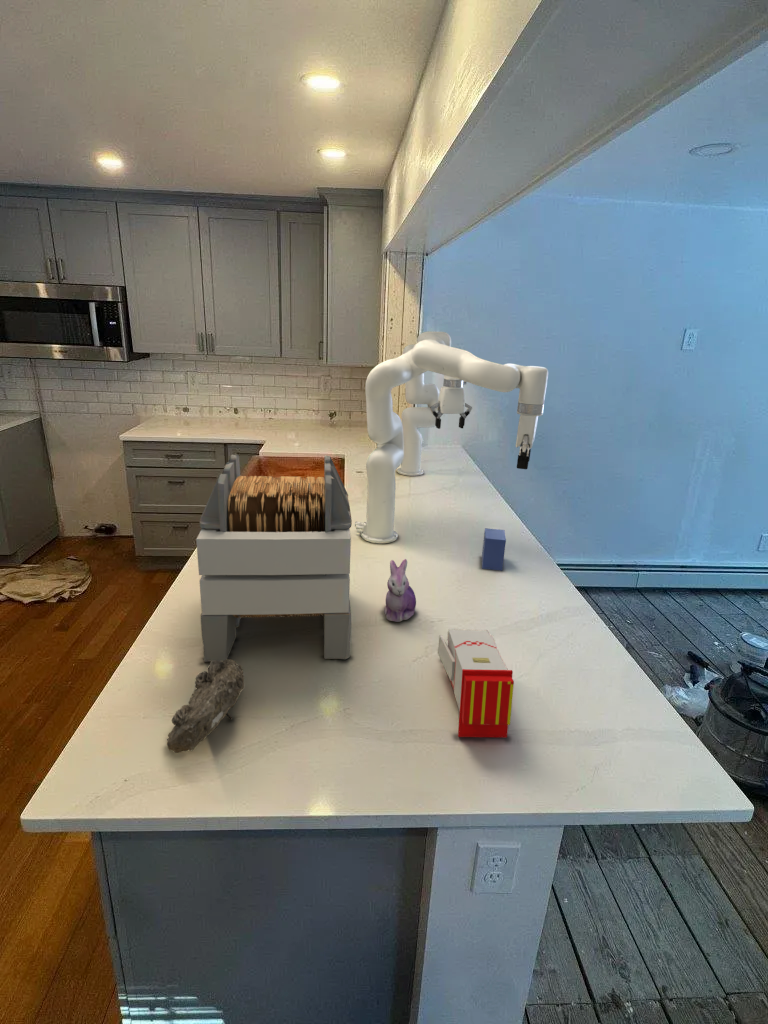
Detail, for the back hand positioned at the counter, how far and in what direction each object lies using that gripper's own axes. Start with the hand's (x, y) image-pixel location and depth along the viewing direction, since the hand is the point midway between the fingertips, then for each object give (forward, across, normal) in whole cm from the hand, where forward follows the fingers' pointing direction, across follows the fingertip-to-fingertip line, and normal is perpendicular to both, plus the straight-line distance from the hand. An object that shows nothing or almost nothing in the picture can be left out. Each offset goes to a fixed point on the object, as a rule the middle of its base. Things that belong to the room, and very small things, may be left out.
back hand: (449, 427), depth 224 cm
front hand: (0, -2, +56) cm, 56 cm away
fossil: (+31, +90, +114) cm, 149 cm away
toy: (+31, +39, +117) cm, 127 cm away
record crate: (+31, +74, +82) cm, 115 cm away
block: (+31, +6, +59) cm, 67 cm away
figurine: (+31, +44, +84) cm, 100 cm away
